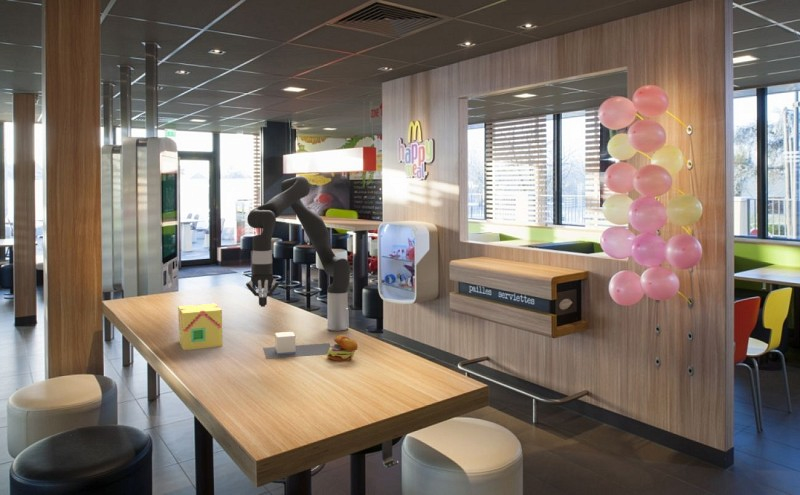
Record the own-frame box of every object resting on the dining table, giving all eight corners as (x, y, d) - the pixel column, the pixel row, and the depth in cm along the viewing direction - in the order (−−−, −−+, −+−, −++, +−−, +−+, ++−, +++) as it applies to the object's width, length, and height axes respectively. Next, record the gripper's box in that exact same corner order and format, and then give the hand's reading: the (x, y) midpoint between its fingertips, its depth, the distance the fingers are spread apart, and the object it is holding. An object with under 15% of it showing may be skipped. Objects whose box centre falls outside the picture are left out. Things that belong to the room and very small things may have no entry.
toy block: (183, 350, 232) (182, 313, 230) (179, 341, 245) (178, 306, 243) (222, 345, 239) (221, 310, 237) (215, 337, 252) (215, 303, 250)
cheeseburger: (326, 354, 227) (332, 330, 227) (352, 360, 228) (359, 336, 228) (325, 361, 217) (331, 336, 217) (353, 368, 218) (359, 342, 218)
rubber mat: (328, 343, 243) (328, 343, 243) (336, 354, 228) (336, 353, 228) (262, 348, 235) (262, 347, 235) (266, 359, 220) (266, 359, 220)
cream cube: (293, 348, 234) (292, 331, 234) (295, 353, 228) (295, 335, 227) (275, 350, 232) (275, 332, 231) (277, 354, 225) (277, 337, 225)
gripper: (278, 260, 229) (279, 303, 231) (243, 261, 225) (244, 305, 227) (280, 262, 222) (281, 307, 224) (245, 263, 218) (245, 309, 220)
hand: (262, 306), depth 225 cm, fingers closed
